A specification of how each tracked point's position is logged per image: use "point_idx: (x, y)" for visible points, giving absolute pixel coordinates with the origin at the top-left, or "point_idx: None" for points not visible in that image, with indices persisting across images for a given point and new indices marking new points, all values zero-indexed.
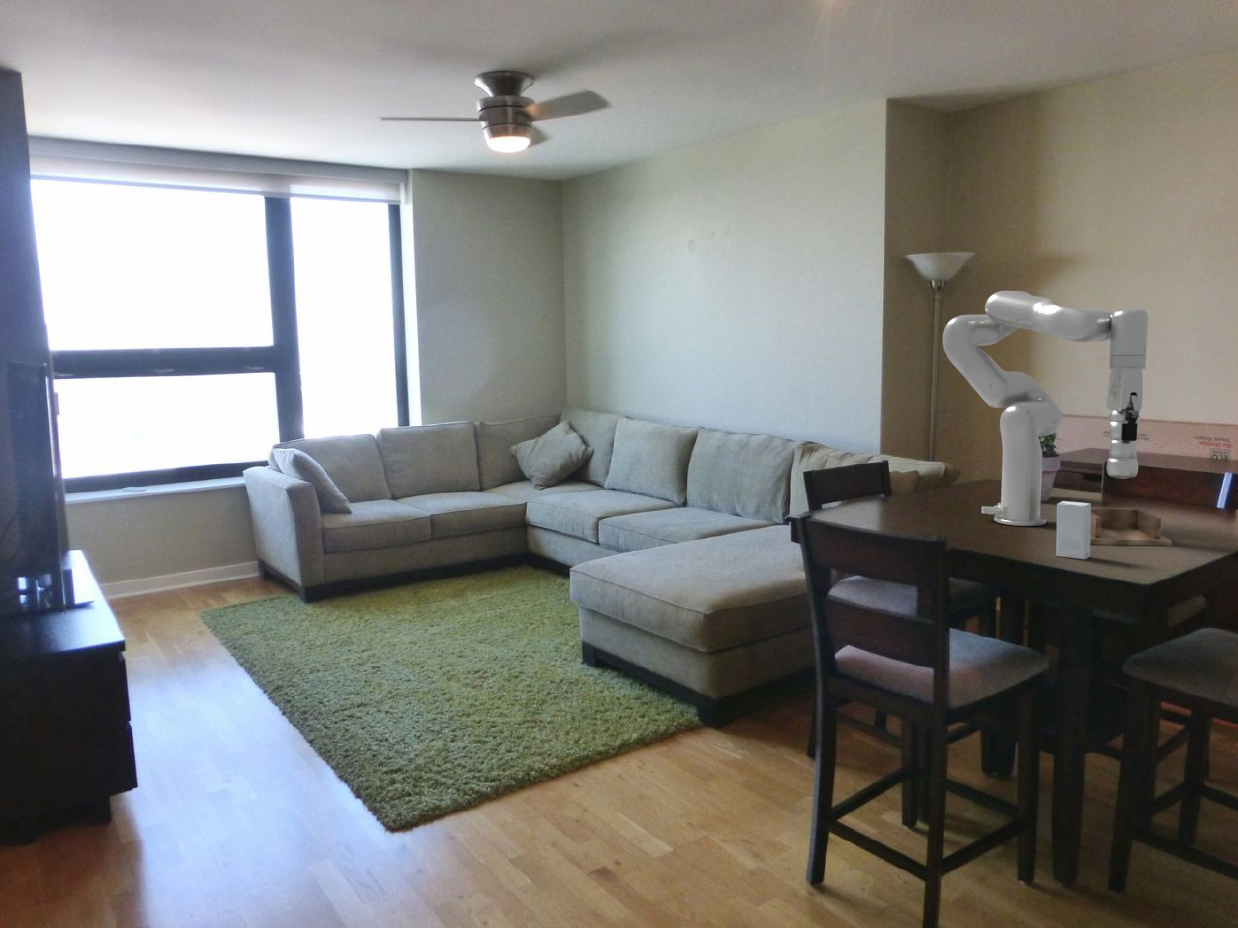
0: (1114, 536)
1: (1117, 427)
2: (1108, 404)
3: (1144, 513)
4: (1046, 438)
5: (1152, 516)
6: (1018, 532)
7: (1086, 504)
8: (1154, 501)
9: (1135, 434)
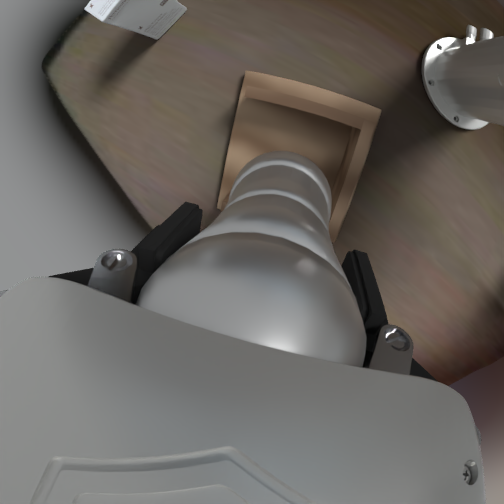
0: (263, 131)
1: (204, 230)
2: (417, 419)
3: None
4: None
5: None
6: (373, 14)
7: (92, 12)
8: (470, 361)
9: None
